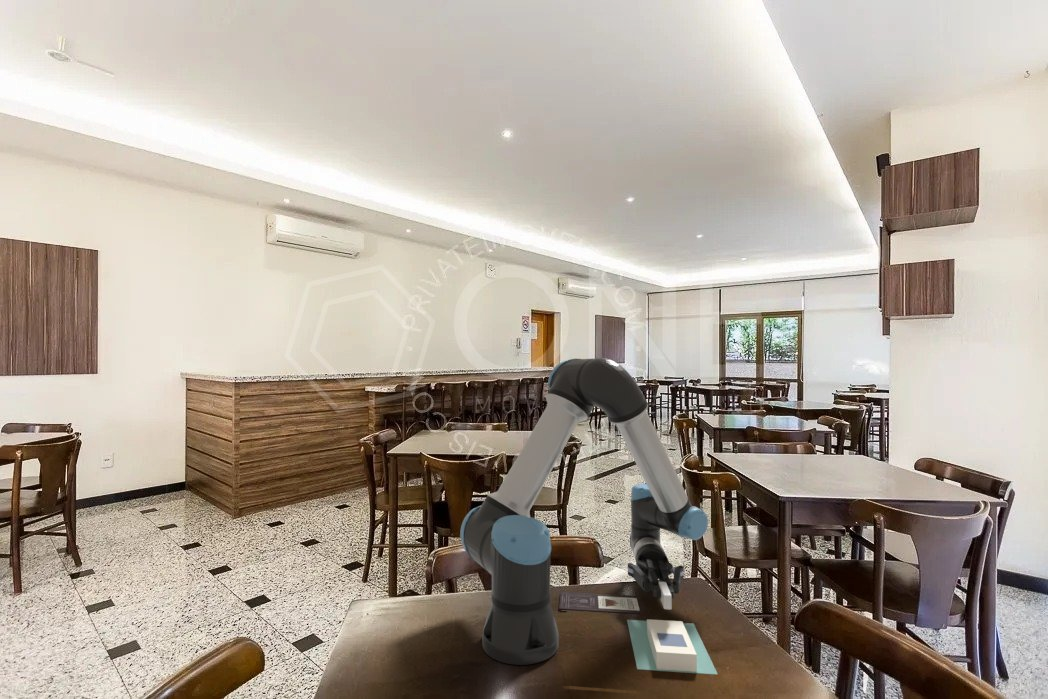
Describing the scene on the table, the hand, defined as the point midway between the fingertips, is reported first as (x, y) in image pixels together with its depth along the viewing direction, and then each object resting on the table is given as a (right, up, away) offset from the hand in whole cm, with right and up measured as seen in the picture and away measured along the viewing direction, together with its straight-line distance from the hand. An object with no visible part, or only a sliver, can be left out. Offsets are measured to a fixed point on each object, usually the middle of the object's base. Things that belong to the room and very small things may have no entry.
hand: (667, 602), depth 98 cm
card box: (0, -6, +2) cm, 7 cm away
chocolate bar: (-11, -10, +17) cm, 22 cm away
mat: (0, -8, -1) cm, 8 cm away
